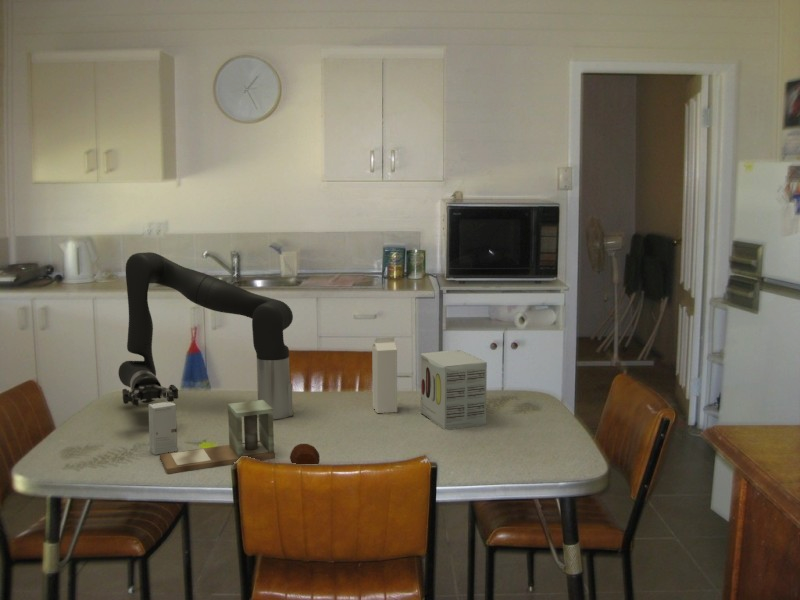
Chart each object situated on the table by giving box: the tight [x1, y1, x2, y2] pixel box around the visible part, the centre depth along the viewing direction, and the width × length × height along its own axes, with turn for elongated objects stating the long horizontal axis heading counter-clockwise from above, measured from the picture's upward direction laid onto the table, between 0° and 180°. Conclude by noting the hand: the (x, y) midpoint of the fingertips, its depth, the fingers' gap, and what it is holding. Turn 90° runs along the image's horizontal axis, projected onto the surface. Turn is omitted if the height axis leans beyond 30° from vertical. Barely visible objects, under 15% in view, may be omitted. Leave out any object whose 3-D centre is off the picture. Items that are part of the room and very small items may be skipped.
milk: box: [371, 336, 398, 414], centre depth 242 cm, size 6×6×22 cm
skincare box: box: [148, 401, 178, 456], centre depth 208 cm, size 6×4×12 cm
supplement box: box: [420, 349, 488, 430], centre depth 234 cm, size 17×13×18 cm
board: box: [159, 399, 276, 475], centre depth 202 cm, size 26×11×12 cm, turn 115°
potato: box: [289, 443, 320, 464], centre depth 195 cm, size 7×9×6 cm
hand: (154, 401), depth 217 cm, fingers open, 8 cm apart
